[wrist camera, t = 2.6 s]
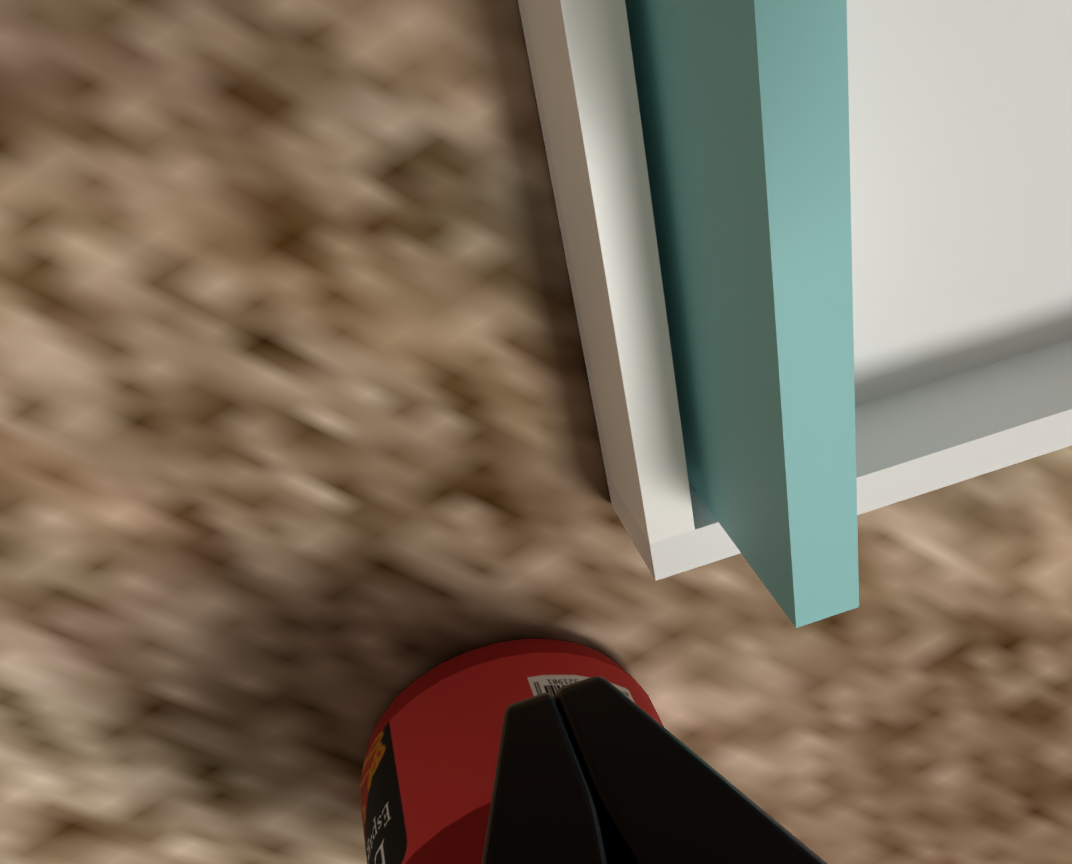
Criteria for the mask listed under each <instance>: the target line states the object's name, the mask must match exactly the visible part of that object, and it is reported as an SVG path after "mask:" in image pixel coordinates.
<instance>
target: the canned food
mask: <svg viewBox="0 0 1072 864" xmlns="http://www.w3.org/2000/svg"><path fill="white" fill-rule="evenodd" d="M593 676H600V677H603V678H605V679H606V680H608V681H609V682H610V683H611V684H613V685H614V686H615V687H616V688H617V689H619V690H620V691H621V692H622V693H623V694H625V695H626V696H627V697H628V698H629V699H631V700H632V701H633V702H634V703H635V704H637V705H638V706H639V707H640V708H641V709H643V710H644V711H645V712H646V713H647V714H649V715H650V716H651V717H652V718H653V719H655V720H656V721H657V722H658V723H659V724H661V725H662V726H663V724H662V722H661V720H660V718H659V716H658V714H657V712H656V710H655V708H654V706H653V704H652V702H651V700H650V698H649V696H648V695H647V693H646V692H645V691H644V690H643V689H642V688H641V686H640V685H639V684H638V683H637V682H636V681H635V679H633V678H632V677H631V676H630V675H629V674H628V673H627V672H626V671H625V670H624V669H623V668H621V667H620V666H619V665H618V664H617V663H615V662H614V661H612V660H611V659H610V658H608V657H607V656H605V655H604V654H602V653H601V652H599V651H596V650H594V649H591V648H588V647H586V646H583V645H581V644H578V643H572V642H567V641H561V640H556V639H520V640H513V641H506V642H499V643H495V644H491V645H488V646H484V647H481V648H477V649H474V650H470V651H468V652H465V653H463V654H461V655H459V656H456V657H454V658H452V659H450V660H447V661H445V662H443V663H441V664H440V665H438V666H436V667H435V668H433V669H432V670H430V671H428V672H427V673H425V674H424V675H422V676H421V677H419V678H417V679H416V680H415V681H414V682H413V683H412V684H411V685H409V686H408V687H407V688H406V689H405V690H404V691H403V692H401V693H400V694H399V695H398V696H397V697H396V698H395V700H394V701H393V702H392V703H391V705H390V706H389V707H388V708H387V710H386V711H385V712H384V713H383V715H382V716H381V718H380V720H379V721H378V723H377V725H376V727H375V729H374V731H373V733H372V735H371V738H370V741H369V745H368V749H367V753H366V757H365V761H364V765H363V769H362V773H361V778H360V782H359V783H360V801H361V811H362V820H363V829H364V838H365V847H366V856H367V864H482V858H483V852H484V845H485V839H486V832H487V825H488V819H489V812H490V805H491V799H492V792H493V786H494V779H495V772H496V766H497V759H498V752H499V746H500V739H501V733H502V726H503V719H504V714H505V711H506V709H507V707H508V706H509V705H511V704H513V703H515V702H518V701H521V700H524V699H527V698H530V697H533V696H536V695H539V694H542V693H551V694H552V695H553V696H554V697H555V699H556V693H557V691H558V690H559V688H561V687H563V686H566V685H569V684H572V683H575V682H578V681H581V680H584V679H587V678H590V677H593ZM663 727H664V726H663Z"/></svg>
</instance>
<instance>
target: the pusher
mask: <svg viewBox="0 0 1072 864" xmlns="http://www.w3.org/2000/svg"><path fill="white" fill-rule="evenodd" d="M625 4H626V11H627V19H628V26H629V34H630V42H631V49H632V57H633V64H634V72H635V79H636V87H637V95H638V102H639V110H640V117H641V125H642V132H643V140H644V148H645V155H646V163H647V170H648V178H649V185H650V193H651V201H652V208H653V216H654V223H655V231H656V239H657V246H658V254H659V261H660V269H661V276H662V284H663V292H664V299H665V307H666V314H667V322H668V329H669V337H670V345H671V352H672V360H673V367H674V375H675V383H676V390H677V398H678V405H679V413H680V420H681V428H682V436H683V443H684V451H685V458H686V466H687V473H688V481H689V483H690V484H691V485H692V487H693V488H694V489H695V491H696V492H697V493H698V495H699V496H700V498H701V499H702V500H703V502H704V503H705V504H706V506H707V507H708V508H709V510H710V511H711V513H712V514H713V515H714V517H715V518H716V519H717V521H718V522H719V523H720V525H721V526H722V528H723V529H724V530H725V532H726V533H727V534H728V536H729V537H730V538H731V540H732V541H733V543H734V544H735V545H736V547H737V548H738V549H739V551H740V552H741V553H742V555H743V556H744V558H745V559H746V560H747V562H748V563H749V564H750V566H751V567H752V568H753V570H754V571H755V573H756V574H757V575H758V577H759V578H760V579H761V581H762V582H763V583H764V585H765V586H766V588H767V589H768V590H769V592H770V593H771V594H772V596H773V597H774V598H775V600H776V601H777V603H778V604H779V605H780V607H781V608H782V609H783V611H784V612H785V613H786V615H787V616H788V618H789V619H790V620H791V622H792V623H793V624H794V626H795V627H796V628H798V627H801V626H804V625H807V624H810V623H813V622H816V621H819V620H822V619H824V618H827V617H830V616H833V615H836V614H839V613H842V612H845V611H848V610H851V609H854V608H857V607H859V580H858V531H857V483H856V435H855V386H854V338H853V289H852V241H851V193H850V144H849V96H848V48H847V0H625Z"/></svg>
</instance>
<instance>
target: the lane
mask: <svg viewBox="0 0 1072 864" xmlns="http://www.w3.org/2000/svg"><path fill="white" fill-rule="evenodd" d="M518 4H519V10H520V15H521V20H522V26H523V31H524V37H525V42H526V47H527V53H528V58H529V63H530V69H531V74H532V80H533V85H534V90H535V96H536V101H537V106H538V112H539V117H540V123H541V128H542V133H543V139H544V144H545V150H546V155H547V160H548V166H549V171H550V176H551V182H552V187H553V193H554V198H555V203H556V209H557V214H558V219H559V225H560V230H561V236H562V241H563V246H564V252H565V257H566V263H567V268H568V273H569V279H570V284H571V289H572V295H573V300H574V306H575V311H576V316H577V322H578V327H579V332H580V338H581V343H582V349H583V354H584V359H585V365H586V370H587V375H588V381H589V386H590V392H591V397H592V402H593V408H594V413H595V419H596V424H597V429H598V435H599V440H600V445H601V451H602V456H603V462H604V467H605V472H606V478H607V483H608V488H609V494H610V499H611V505H612V506H613V508H614V510H615V512H616V513H617V515H618V517H619V518H620V520H621V522H622V524H623V525H624V527H625V529H626V530H627V532H628V534H629V536H630V537H631V539H632V541H633V542H634V544H635V546H636V548H637V549H638V551H639V553H640V555H641V556H642V558H643V560H644V561H645V563H646V565H647V567H648V568H649V570H650V572H651V573H652V575H653V577H654V579H655V580H656V581H657V580H660V579H663V578H666V577H669V576H672V575H675V574H678V573H681V572H684V571H687V570H690V569H693V568H696V567H700V566H703V565H706V564H709V563H712V562H715V561H718V560H721V559H724V558H727V557H730V556H733V555H736V554H739V553H741V552H740V551H739V549H738V548H737V547H736V545H735V544H734V543H733V541H732V540H731V538H730V537H729V536H728V534H727V533H726V532H725V530H724V529H723V528H722V526H721V525H720V523H719V522H718V521H717V519H716V518H715V517H714V515H713V514H712V513H711V511H710V510H709V508H708V507H707V506H706V504H705V503H704V502H703V500H702V499H701V498H700V496H699V495H698V493H697V492H696V491H695V489H694V488H693V487H692V485H691V484H690V483H689V481H688V473H687V466H686V458H685V451H684V443H683V436H682V428H681V420H680V413H679V405H678V398H677V390H676V383H675V375H674V367H673V360H672V352H671V345H670V337H669V329H668V322H667V314H666V307H665V299H664V292H663V284H662V276H661V269H660V261H659V254H658V246H657V239H656V231H655V223H654V216H653V208H652V201H651V193H650V185H649V178H648V170H647V163H646V155H645V148H644V140H643V132H642V125H641V117H640V110H639V102H638V95H637V87H636V79H635V72H634V64H633V57H632V49H631V42H630V34H629V26H628V19H627V11H626V4H625V0H518ZM847 48H848V96H849V144H850V193H851V241H852V289H853V338H854V386H855V435H856V483H857V515H859V514H862V513H865V512H868V511H872V510H875V509H878V508H881V507H884V506H887V505H890V504H893V503H896V502H899V501H902V500H905V499H908V498H911V497H915V496H918V495H921V494H924V493H927V492H930V491H933V490H936V489H939V488H942V487H945V486H948V485H951V484H954V483H958V482H961V481H964V480H967V479H970V478H973V477H976V476H979V475H982V474H985V473H988V472H991V471H994V470H997V469H1001V468H1004V467H1007V466H1010V465H1013V464H1016V463H1019V462H1022V461H1025V460H1028V459H1031V458H1034V457H1037V456H1040V455H1044V454H1047V453H1050V452H1053V451H1056V450H1059V449H1062V448H1065V447H1068V446H1071V445H1072V0H847Z"/></svg>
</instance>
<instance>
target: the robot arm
mask: <svg viewBox="0 0 1072 864" xmlns="http://www.w3.org/2000/svg"><path fill="white" fill-rule="evenodd" d="M482 864H827V863H826V862H825V861H823V860H822V859H821V858H820V857H819V856H817V855H816V854H815V853H814V852H813V851H811V850H810V849H809V848H808V847H807V846H805V845H804V844H803V843H802V842H801V841H799V840H798V839H797V838H796V837H795V836H793V835H792V834H791V833H790V832H789V831H787V830H786V829H785V828H784V827H783V826H782V825H780V824H779V823H778V822H777V821H776V820H774V819H773V818H772V817H771V816H770V815H768V814H767V813H766V812H765V811H764V810H762V809H761V808H760V807H759V806H758V805H756V804H755V803H754V802H753V801H752V800H750V799H749V798H748V797H747V796H746V795H744V794H743V793H742V792H741V791H740V790H738V789H737V788H736V787H735V786H734V785H732V784H731V783H730V782H729V781H728V780H726V779H725V778H724V777H723V776H722V775H720V774H719V773H718V772H717V771H716V770H714V769H713V768H712V767H711V766H710V765H708V764H707V763H706V762H705V761H704V760H702V759H701V758H700V757H699V756H698V755H696V754H695V753H694V752H693V751H692V750H690V749H689V748H688V747H687V746H686V745H684V744H683V743H682V742H681V741H680V740H678V739H677V738H676V737H675V736H674V735H672V734H671V733H670V732H669V731H668V730H666V729H665V728H664V727H663V726H662V725H661V724H659V723H658V722H657V721H656V720H655V719H653V718H652V717H651V716H650V715H649V714H647V713H646V712H645V711H644V710H643V709H641V708H640V707H639V706H638V705H637V704H635V703H634V702H633V701H632V700H631V699H629V698H628V697H627V696H626V695H625V694H623V693H622V692H621V691H620V690H619V689H617V688H616V687H615V686H614V685H613V684H611V683H610V682H609V681H608V680H606V679H605V678H603V677H600V676H593V677H590V678H587V679H584V680H581V681H578V682H575V683H572V684H569V685H566V686H563V687H561V688H559V690H558V691H557V693H556V699H555V697H554V696H553V695H552V694H551V693H542V694H539V695H536V696H533V697H530V698H527V699H524V700H521V701H518V702H515V703H513V704H511V705H509V706H508V707H507V709H506V711H505V714H504V719H503V726H502V733H501V739H500V746H499V752H498V759H497V766H496V772H495V779H494V786H493V792H492V799H491V805H490V812H489V819H488V825H487V832H486V839H485V845H484V852H483V858H482Z"/></svg>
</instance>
